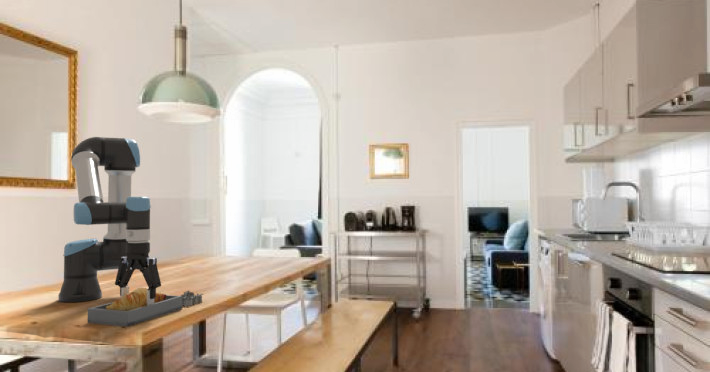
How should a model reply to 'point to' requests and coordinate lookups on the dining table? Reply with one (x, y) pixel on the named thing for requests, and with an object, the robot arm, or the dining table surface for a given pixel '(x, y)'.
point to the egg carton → (190, 298)
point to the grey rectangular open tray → (133, 312)
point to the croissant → (134, 300)
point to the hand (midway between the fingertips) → (137, 307)
